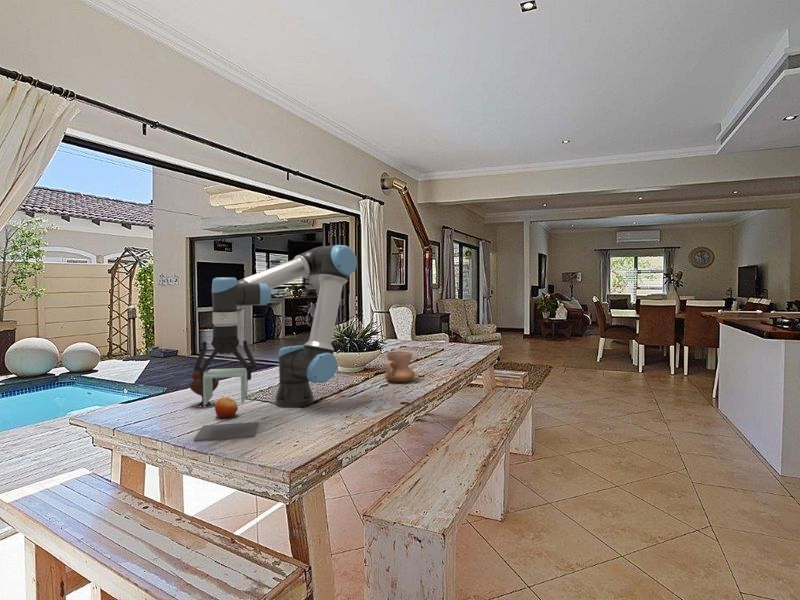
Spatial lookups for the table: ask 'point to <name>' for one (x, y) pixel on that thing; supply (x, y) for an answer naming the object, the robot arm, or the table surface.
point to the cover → (222, 374)
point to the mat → (226, 431)
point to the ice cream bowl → (201, 386)
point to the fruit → (225, 407)
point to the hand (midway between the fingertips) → (226, 391)
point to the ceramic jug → (399, 367)
